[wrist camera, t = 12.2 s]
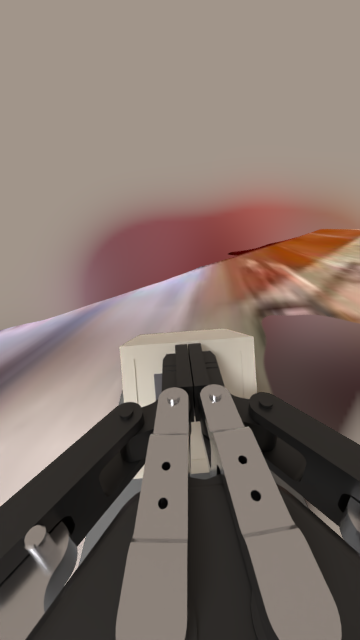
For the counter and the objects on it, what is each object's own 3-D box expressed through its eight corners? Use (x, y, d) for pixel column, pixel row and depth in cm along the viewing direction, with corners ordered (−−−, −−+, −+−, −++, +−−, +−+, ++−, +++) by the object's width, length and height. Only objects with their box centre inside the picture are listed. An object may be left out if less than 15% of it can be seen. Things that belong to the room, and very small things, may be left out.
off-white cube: (253, 336, 14) (224, 328, 22) (119, 346, 14) (139, 334, 22) (262, 467, 14) (230, 412, 22) (130, 479, 14) (146, 419, 22)
